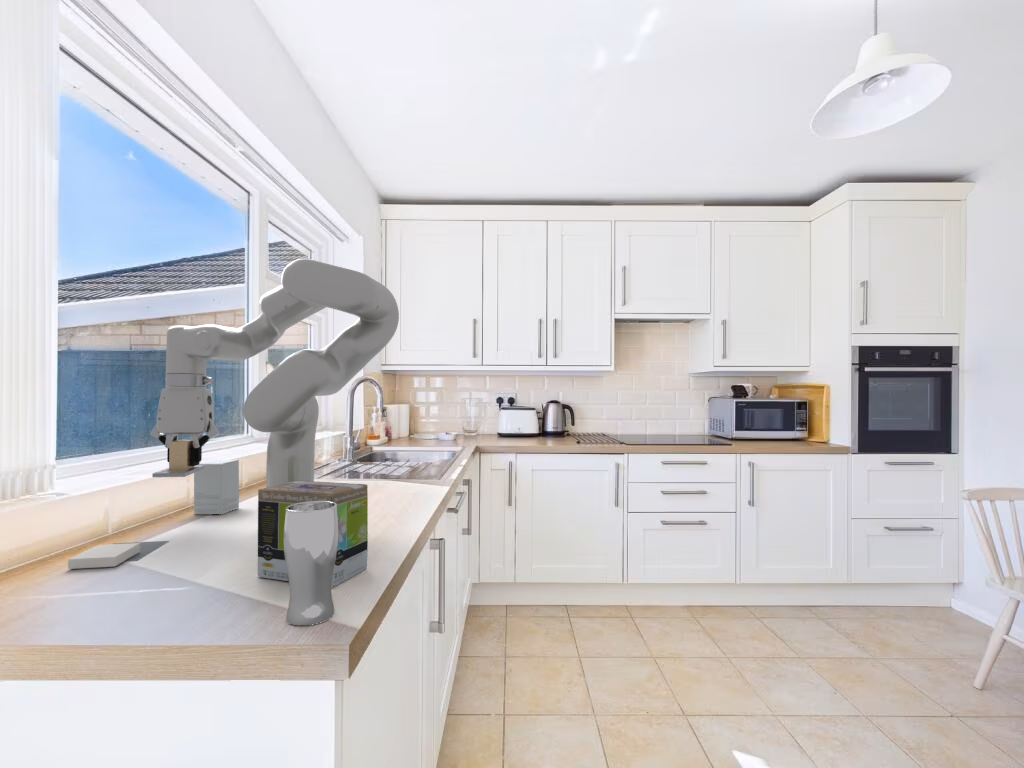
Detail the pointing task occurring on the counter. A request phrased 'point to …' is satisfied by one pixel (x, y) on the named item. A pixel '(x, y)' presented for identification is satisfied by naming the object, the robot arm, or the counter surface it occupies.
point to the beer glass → (310, 560)
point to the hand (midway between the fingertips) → (184, 464)
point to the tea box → (349, 525)
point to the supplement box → (216, 487)
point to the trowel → (179, 460)
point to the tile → (104, 556)
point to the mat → (145, 549)
